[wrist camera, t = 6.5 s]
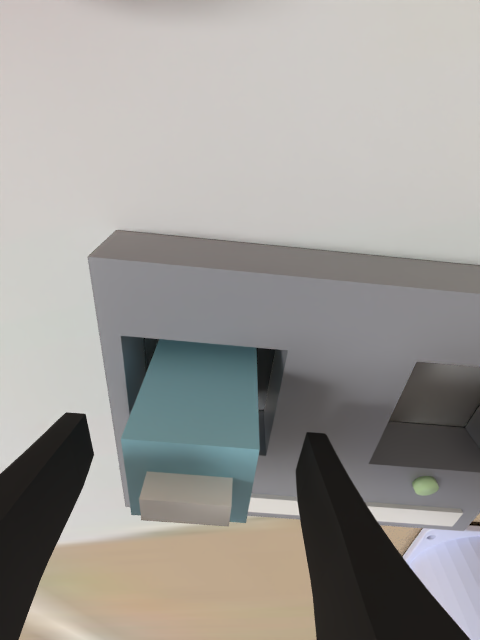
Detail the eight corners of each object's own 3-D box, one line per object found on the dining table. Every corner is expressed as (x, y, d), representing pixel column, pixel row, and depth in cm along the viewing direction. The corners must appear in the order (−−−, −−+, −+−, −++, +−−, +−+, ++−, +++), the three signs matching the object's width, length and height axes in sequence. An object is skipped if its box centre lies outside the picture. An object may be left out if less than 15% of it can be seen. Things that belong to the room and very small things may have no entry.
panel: (440, 484, 19) (466, 537, 17) (139, 461, 19) (123, 512, 16) (583, 275, 12) (662, 315, 10) (116, 230, 12) (83, 260, 10)
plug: (246, 389, 16) (245, 550, 10) (169, 383, 16) (123, 542, 10) (255, 325, 14) (260, 477, 8) (167, 317, 14) (109, 466, 8)
